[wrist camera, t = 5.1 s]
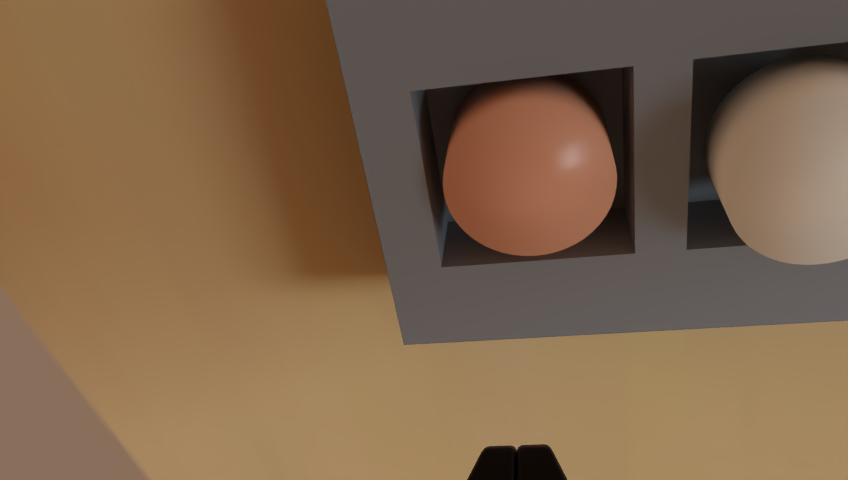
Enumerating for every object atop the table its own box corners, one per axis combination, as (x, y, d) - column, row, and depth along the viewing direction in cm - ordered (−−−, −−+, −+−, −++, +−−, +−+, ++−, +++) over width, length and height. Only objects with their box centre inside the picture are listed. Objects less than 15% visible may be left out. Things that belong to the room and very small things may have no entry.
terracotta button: (604, 58, 16) (614, 95, 14) (608, 202, 18) (618, 249, 16) (438, 78, 17) (430, 115, 15) (460, 215, 19) (454, 261, 17)
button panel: (1307, -194, 14) (1484, -179, 11) (1135, 224, 18) (1232, 299, 16) (350, -52, 17) (322, -15, 14) (416, 274, 22) (404, 344, 19)
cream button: (905, 43, 14) (956, 83, 13) (874, 205, 16) (915, 258, 15) (707, 65, 15) (731, 106, 13) (700, 218, 17) (721, 271, 15)
